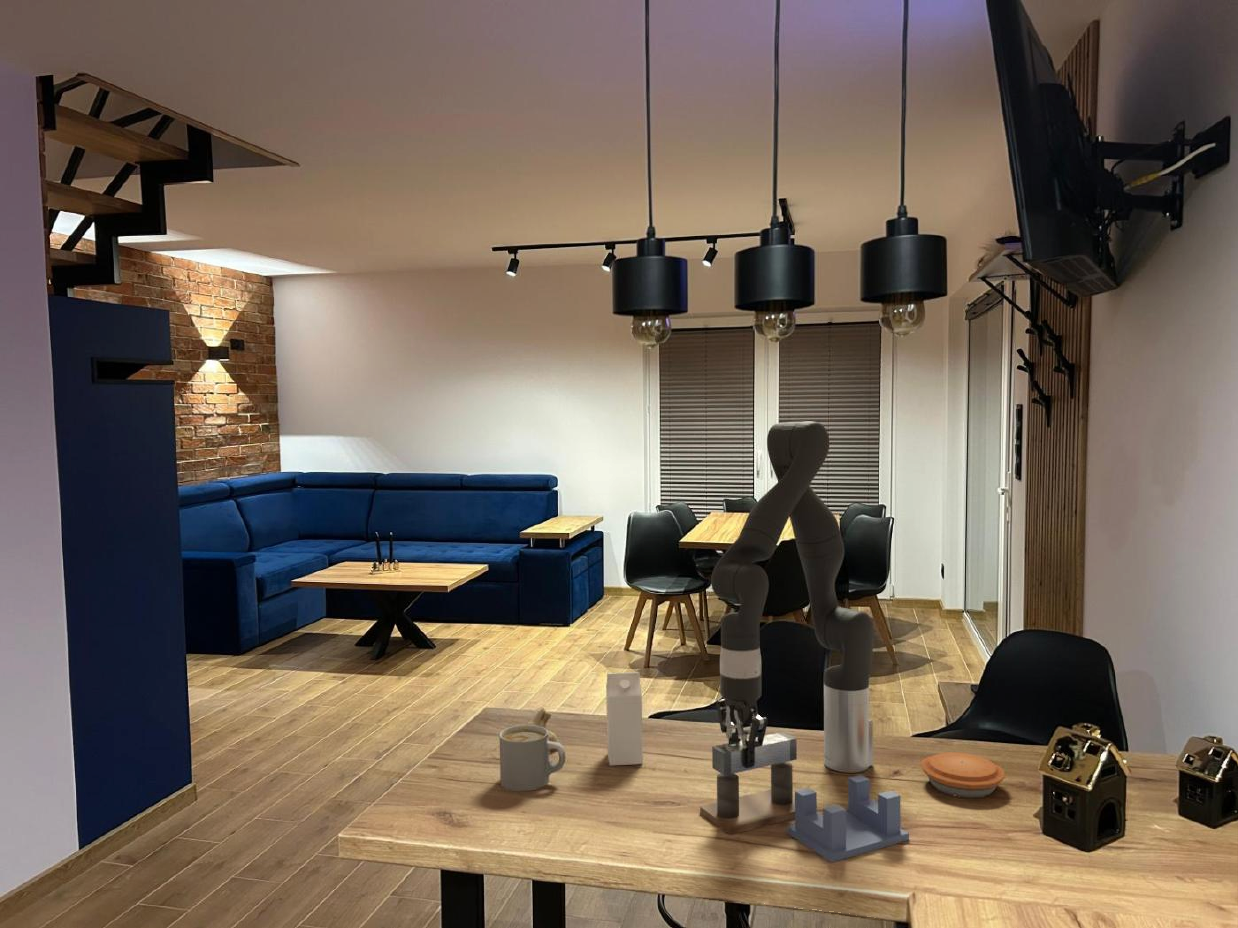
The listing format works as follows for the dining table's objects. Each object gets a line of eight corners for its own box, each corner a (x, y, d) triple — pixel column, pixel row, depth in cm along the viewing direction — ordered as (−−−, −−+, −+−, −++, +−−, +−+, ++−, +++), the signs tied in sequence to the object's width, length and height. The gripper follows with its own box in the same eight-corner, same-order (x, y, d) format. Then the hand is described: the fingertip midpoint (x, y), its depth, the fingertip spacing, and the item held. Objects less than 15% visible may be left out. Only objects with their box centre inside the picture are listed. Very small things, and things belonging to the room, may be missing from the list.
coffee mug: (491, 787, 177) (490, 738, 176) (513, 768, 186) (512, 722, 186) (552, 796, 172) (551, 746, 172) (572, 776, 182) (571, 729, 181)
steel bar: (783, 752, 168) (783, 731, 168) (796, 759, 165) (796, 738, 164) (712, 767, 161) (712, 746, 161) (724, 775, 158) (724, 753, 158)
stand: (779, 793, 172) (778, 753, 172) (811, 813, 163) (811, 771, 163) (700, 812, 164) (699, 770, 164) (729, 834, 155) (728, 790, 155)
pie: (981, 811, 163) (981, 784, 163) (906, 785, 175) (906, 761, 174) (1018, 787, 173) (1019, 762, 173) (945, 764, 185) (945, 741, 185)
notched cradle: (861, 812, 163) (861, 771, 163) (909, 839, 152) (909, 796, 152) (787, 832, 156) (786, 789, 155) (831, 862, 145) (830, 816, 144)
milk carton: (607, 753, 194) (605, 668, 193) (639, 752, 195) (638, 667, 194) (609, 766, 187) (608, 678, 186) (642, 764, 187) (641, 676, 187)
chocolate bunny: (525, 747, 199) (524, 703, 198) (560, 745, 200) (559, 702, 199) (525, 756, 193) (524, 711, 193) (561, 754, 194) (560, 709, 194)
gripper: (780, 677, 156) (781, 772, 157) (736, 658, 169) (737, 746, 170) (745, 683, 153) (746, 780, 154) (702, 664, 166) (704, 753, 167)
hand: (741, 762), depth 162 cm, fingers closed on steel bar, 4 cm apart
